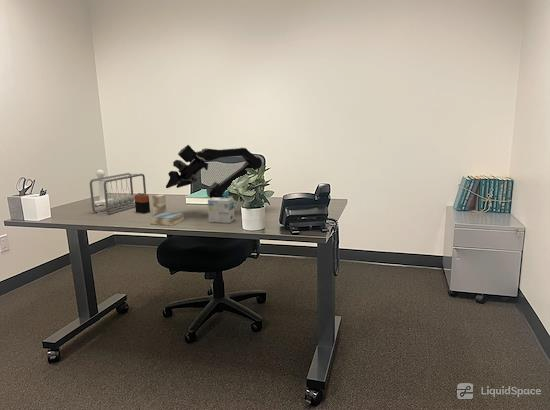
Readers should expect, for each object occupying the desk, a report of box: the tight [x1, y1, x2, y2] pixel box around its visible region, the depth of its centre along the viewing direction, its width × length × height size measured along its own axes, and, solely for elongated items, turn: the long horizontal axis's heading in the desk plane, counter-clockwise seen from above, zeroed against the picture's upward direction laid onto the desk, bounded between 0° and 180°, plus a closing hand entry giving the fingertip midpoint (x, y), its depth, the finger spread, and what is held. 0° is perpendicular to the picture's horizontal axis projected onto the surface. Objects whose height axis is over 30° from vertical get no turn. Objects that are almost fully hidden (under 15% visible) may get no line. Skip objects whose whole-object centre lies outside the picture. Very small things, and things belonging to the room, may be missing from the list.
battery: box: [133, 192, 151, 214], centre depth 212 cm, size 4×7×10 cm, turn 54°
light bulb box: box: [207, 197, 236, 224], centre depth 191 cm, size 11×7×11 cm, turn 77°
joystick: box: [94, 169, 114, 207], centre depth 231 cm, size 11×8×20 cm
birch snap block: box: [151, 193, 167, 216], centre depth 206 cm, size 5×5×10 cm
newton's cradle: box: [89, 172, 147, 215], centre depth 221 cm, size 30×10×18 cm, turn 158°
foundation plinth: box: [149, 212, 185, 227], centre depth 191 cm, size 11×11×3 cm
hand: (171, 187), depth 204 cm, fingers open, 9 cm apart
